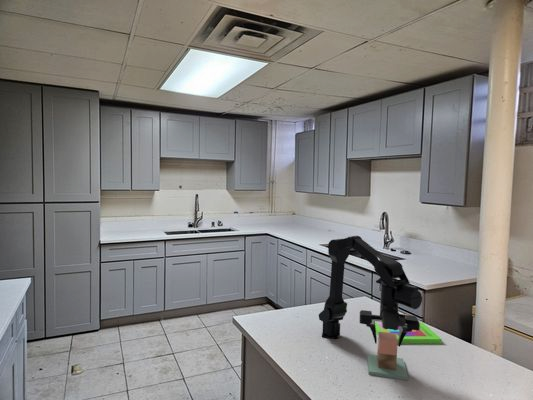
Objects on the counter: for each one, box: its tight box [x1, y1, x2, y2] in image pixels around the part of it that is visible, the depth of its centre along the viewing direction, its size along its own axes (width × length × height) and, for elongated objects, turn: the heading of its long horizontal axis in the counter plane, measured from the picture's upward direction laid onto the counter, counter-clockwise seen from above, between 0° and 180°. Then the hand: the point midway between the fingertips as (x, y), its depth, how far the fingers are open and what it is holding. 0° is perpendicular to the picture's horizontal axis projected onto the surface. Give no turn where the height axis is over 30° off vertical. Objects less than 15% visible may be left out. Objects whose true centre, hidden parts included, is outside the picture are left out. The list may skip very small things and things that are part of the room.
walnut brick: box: [376, 348, 398, 370], centre depth 121 cm, size 6×6×5 cm
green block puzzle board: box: [375, 314, 443, 344], centre depth 152 cm, size 23×2×25 cm
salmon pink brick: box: [377, 332, 398, 356], centre depth 121 cm, size 6×6×5 cm
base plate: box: [366, 353, 409, 381], centre depth 121 cm, size 12×12×1 cm
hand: (387, 344), depth 121 cm, fingers open, 7 cm apart
